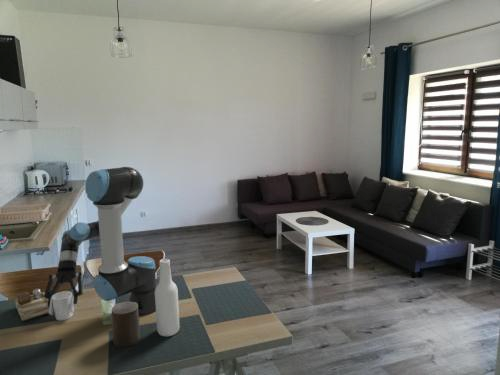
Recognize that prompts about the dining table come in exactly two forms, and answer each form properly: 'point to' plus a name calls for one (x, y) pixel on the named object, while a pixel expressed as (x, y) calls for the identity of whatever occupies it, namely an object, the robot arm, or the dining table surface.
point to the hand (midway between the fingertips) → (61, 312)
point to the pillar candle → (125, 324)
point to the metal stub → (37, 294)
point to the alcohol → (166, 302)
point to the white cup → (62, 305)
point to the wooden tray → (33, 307)
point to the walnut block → (24, 298)
